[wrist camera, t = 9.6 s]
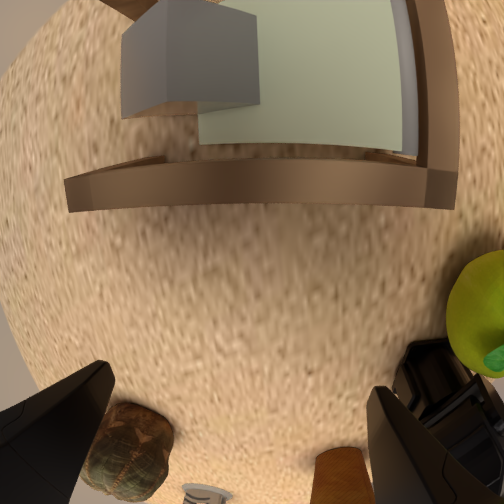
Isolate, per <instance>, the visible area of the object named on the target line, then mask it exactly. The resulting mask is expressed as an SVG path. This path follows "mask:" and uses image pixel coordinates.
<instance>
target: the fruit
mask: <svg viewBox="0 0 504 504" xmlns="http://www.w3.org/2000/svg"><path fill="white" fill-rule="evenodd" d="M446 327H447V334H448V338H449V342H450V345H451V347H452V349H453V351H454V353H455V355H456V356H457V358H458V359H459V360H460V361H461V362H462V363H463V364H464V365H465V366H466V367H467V368H469V369H471V370H472V371H474V372H476V373H479V374H481V375H483V376H486V377H490V378H501V377H504V250H497V251H493V252H489V253H486V254H484V255H482V256H480V257H478V258H476V259H474V260H473V261H471V262H470V263H468V264H467V265H466V266H465V267H464V269H463V270H462V272H461V274H460V275H459V277H458V279H457V281H456V283H455V284H454V286H453V288H452V290H451V292H450V295H449V298H448V302H447V308H446Z"/></svg>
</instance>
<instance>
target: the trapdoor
mask: <svg viewBox="0 0 504 504" xmlns="http://www.w3.org/2000/svg"><path fill="white" fill-rule="evenodd" d="M218 4H220V5H223V6H227V7H230V8H234V9H237V10H241V11H244V12H247V13H250V14H253V15H256V16H257V36H258V59H259V84H260V104H259V105H252V106H245V107H238V108H231V109H225V110H219V111H214V112H208V113H203V114H198V130H199V145H207V144H229V143H306V144H327V145H343V146H356V147H367V148H377V149H386V150H393V153H397V154H404V155H412V156H418V92H417V77H416V65H415V56H414V48H413V40H412V33H411V27H410V21H409V15H408V10H407V5H406V1H405V0H224V1H222V2H220V3H218Z"/></svg>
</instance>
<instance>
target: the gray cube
mask: <svg viewBox="0 0 504 504" xmlns="http://www.w3.org/2000/svg"><path fill="white" fill-rule="evenodd" d="M259 104H260V84H259V59H258V36H257V16H256V15H253V14H250V13H247V12H244V11H241V10H237V9H234V8H230V7H227V6H223V5H220V4H216V3H212V2H208V1H203V0H160V1H158V2H157V3H156V4H155V5H154V6H152V7H151V8H150V9H149V10H148V11H147V12H146V13H144V14H143V15H142V16H141V17H140V18H139V19H138V20H137V21H136V22H135V23H134V24H133V25H131V26H130V27H129V28H128V29H127V30H126V31H125V32H124V33H123V34H122V42H121V116H122V119H129V118H139V117H151V116H166V115H189V114H203V113H208V112H214V111H219V110H225V109H231V108H238V107H245V106H252V105H259Z"/></svg>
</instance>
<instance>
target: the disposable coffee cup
mask: <svg viewBox="0 0 504 504" xmlns="http://www.w3.org/2000/svg"><path fill="white" fill-rule="evenodd" d="M310 504H375V495H374V492H373V489H372V485H371V482H370V478H369V475H368V472H367V469H366V465H365V462H364V459H363V456H362V452H361V450H359V449H357V448H352V447H345V448H337V449H333V450H329V451H326V452H324V453H322V454H320V455H319V456H318V457H317V458H316V463H315V471H314V479H313V487H312V494H311V500H310Z"/></svg>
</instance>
